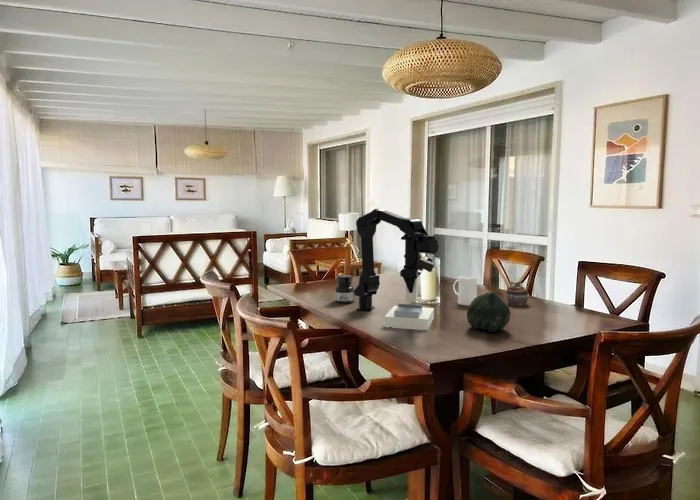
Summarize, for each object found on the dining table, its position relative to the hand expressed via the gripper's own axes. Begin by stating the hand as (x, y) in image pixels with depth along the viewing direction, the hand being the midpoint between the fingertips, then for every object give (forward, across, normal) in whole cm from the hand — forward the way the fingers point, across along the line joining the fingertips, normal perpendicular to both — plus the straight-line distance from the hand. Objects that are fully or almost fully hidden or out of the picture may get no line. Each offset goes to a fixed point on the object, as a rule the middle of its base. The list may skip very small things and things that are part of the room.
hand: (411, 291), depth 194 cm
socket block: (+11, -4, 0) cm, 12 cm away
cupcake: (+11, +42, -41) cm, 60 cm away
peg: (+4, 0, 0) cm, 4 cm away
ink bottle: (+12, +25, +35) cm, 44 cm away
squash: (+11, -6, -29) cm, 32 cm away
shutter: (+7, -8, 0) cm, 11 cm away
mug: (+12, +38, -18) cm, 44 cm away
